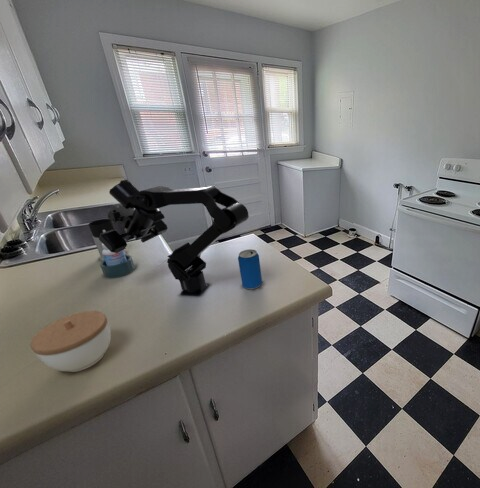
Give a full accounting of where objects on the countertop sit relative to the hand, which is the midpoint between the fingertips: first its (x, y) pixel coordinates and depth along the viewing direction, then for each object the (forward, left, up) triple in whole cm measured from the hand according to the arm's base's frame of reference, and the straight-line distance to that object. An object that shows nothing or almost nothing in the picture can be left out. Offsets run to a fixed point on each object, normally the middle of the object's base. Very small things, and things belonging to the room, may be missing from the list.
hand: (129, 246), depth 90 cm
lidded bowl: (-13, +35, -13) cm, 39 cm away
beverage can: (-41, +1, -13) cm, 43 cm away
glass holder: (+23, -15, -13) cm, 30 cm away
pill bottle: (+11, -5, -12) cm, 17 cm away
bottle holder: (+12, -5, -13) cm, 18 cm away
